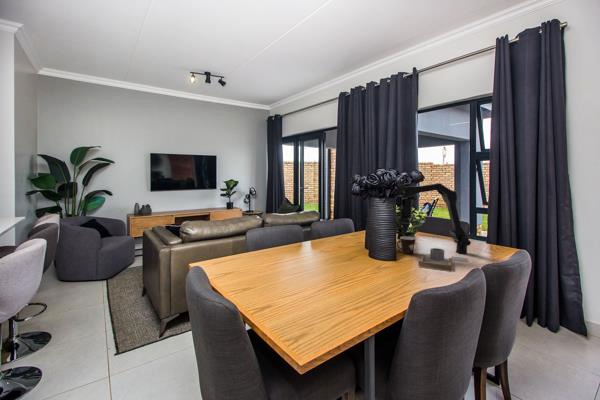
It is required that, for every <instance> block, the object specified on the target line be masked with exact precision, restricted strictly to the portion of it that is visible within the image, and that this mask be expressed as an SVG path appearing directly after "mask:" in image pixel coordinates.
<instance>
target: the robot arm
mask: <svg viewBox="0 0 600 400" xmlns="http://www.w3.org/2000/svg"><path fill="white" fill-rule="evenodd" d="M408 186H409V185H408ZM434 191H437V193H438V194H439V195H441V197H442V200H443V202H444V203H445V205H446V207H447V209H448V215H449V219H450V223H451V230H449V235H450V236H449V237H450V238H451V239H452V240H453V242H454V243H456V245H455V246H456V249H455V254H458V255H468V246H471V243H472V242H471V241H470V239H469V238H468V236H467V233H466V231H465V230H464V229H463V227H462V225H461V221H460V217H459V213H458V212H459V211H458V208H457V202H458V194H457V192H456V191H455V190H451V189H450V188H448V187H447V186H445V185H444V184H442V183H439V182H436V183H431V184H425V185H418V186H417V185H416V186H415V185H414V186H413V185H410V186H409V187H408V188H407V189H406V190H404V191H403V193H401V194H400V195H399V196H398V195H397V196H398V197H397V198H396V205H397V207H396V208H400V207H401V209H400V210H398V211H396V214H397V215H396V216H397V217H396V218H398V220H397V221H398V224H400V225H401V228H402V231H403V232H402V233H403V234H404V235H406V234H407V230H408V227H409V225H410V223H411V225H413V224H412V223H413V221H414V219H415V218H414V217H415V216H414V214H412V213H413V201H414V200H415V201H416V200H417V198H416V197H415V196H414V195H418V194H419V193H426V192H434ZM410 218H412V219H410ZM408 231H409V230H408Z"/></svg>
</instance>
